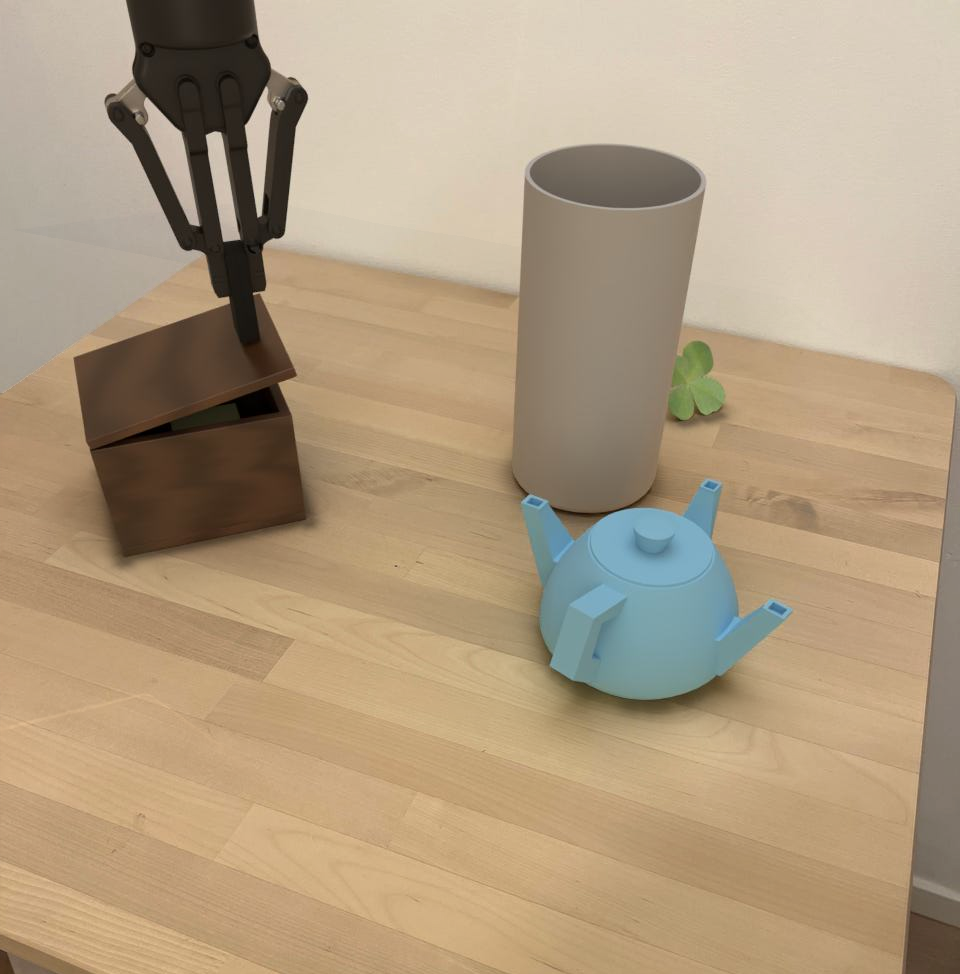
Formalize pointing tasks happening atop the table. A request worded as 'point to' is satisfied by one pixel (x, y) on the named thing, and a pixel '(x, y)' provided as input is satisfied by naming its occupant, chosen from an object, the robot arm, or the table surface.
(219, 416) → the block
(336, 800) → the table surface
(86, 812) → the table surface
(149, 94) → the robot arm
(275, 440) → the chest
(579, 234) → the cylinder vase
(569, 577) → the teapot
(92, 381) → the lid
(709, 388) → the green clover leaf
